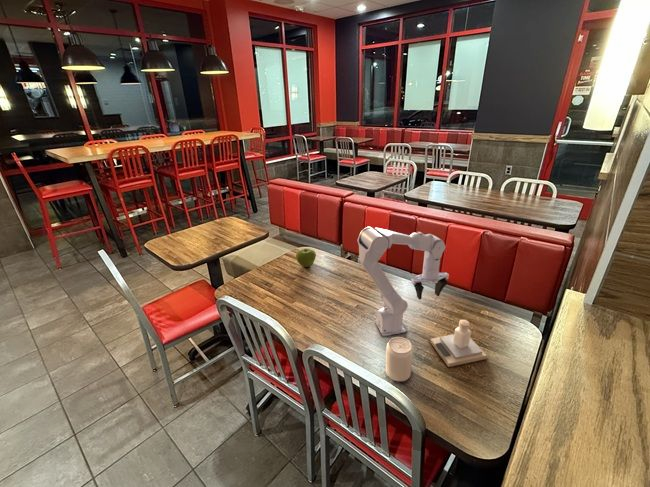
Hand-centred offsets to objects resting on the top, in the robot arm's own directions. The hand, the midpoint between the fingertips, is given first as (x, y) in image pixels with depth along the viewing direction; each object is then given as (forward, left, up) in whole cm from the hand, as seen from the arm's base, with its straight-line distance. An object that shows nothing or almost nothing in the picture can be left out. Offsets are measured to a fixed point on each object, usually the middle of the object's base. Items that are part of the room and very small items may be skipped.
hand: (428, 296), depth 122 cm
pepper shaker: (+3, -19, -8) cm, 21 cm away
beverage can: (-22, -23, -11) cm, 34 cm away
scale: (+2, -19, -10) cm, 22 cm away
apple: (-40, +57, -11) cm, 71 cm away
